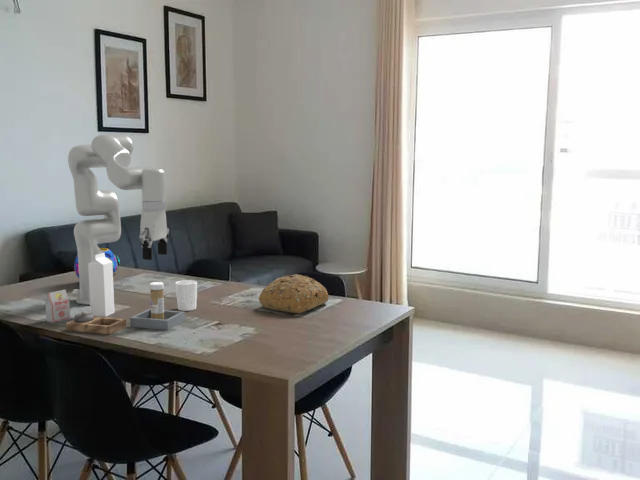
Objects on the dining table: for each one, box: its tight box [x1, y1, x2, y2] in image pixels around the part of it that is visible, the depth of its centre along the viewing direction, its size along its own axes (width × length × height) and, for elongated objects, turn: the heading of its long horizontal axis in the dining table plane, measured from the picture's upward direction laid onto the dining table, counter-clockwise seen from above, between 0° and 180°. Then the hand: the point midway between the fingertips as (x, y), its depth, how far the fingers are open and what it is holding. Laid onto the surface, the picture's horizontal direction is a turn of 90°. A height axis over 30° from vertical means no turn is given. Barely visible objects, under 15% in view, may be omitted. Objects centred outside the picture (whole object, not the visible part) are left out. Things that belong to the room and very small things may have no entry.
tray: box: [129, 308, 186, 331], centre depth 223 cm, size 14×12×3 cm
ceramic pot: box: [73, 247, 121, 279], centre depth 283 cm, size 18×18×15 cm
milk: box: [88, 253, 116, 318], centre depth 233 cm, size 6×6×22 cm
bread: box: [258, 274, 329, 314], centre depth 246 cm, size 24×21×12 cm
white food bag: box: [45, 289, 71, 323], centre depth 227 cm, size 4×7×10 cm, turn 145°
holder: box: [65, 311, 127, 335], centre depth 217 cm, size 16×9×5 cm, turn 74°
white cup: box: [174, 279, 198, 312], centre depth 242 cm, size 8×8×10 cm
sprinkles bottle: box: [149, 281, 165, 319], centre depth 222 cm, size 5×5×14 cm
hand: (155, 256), depth 220 cm, fingers open, 9 cm apart
